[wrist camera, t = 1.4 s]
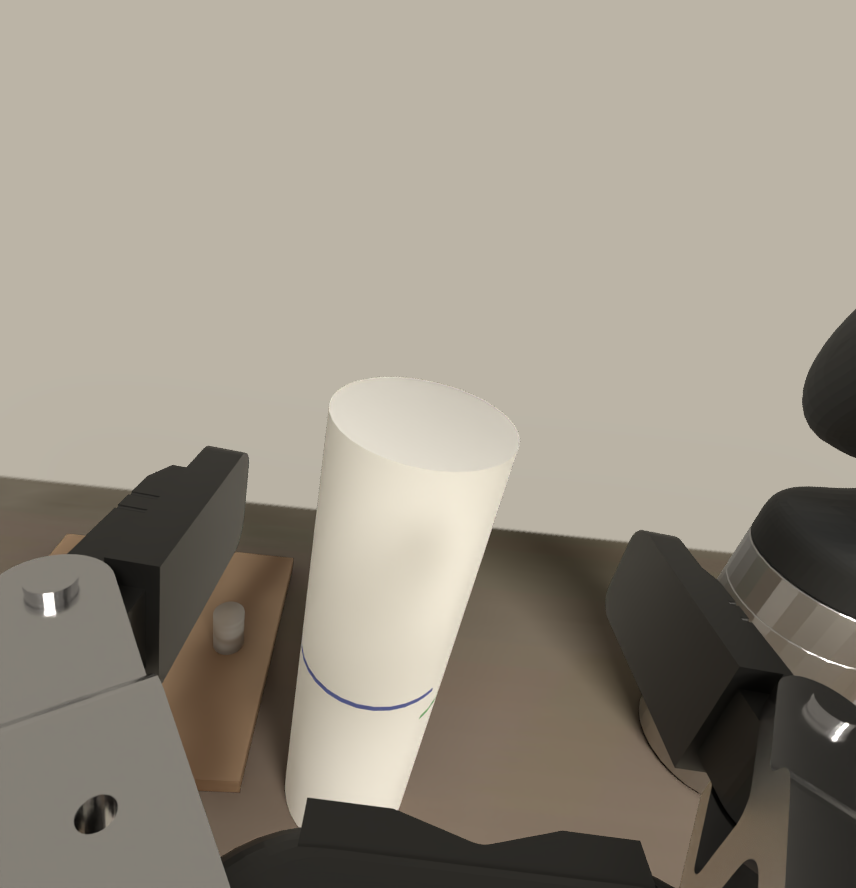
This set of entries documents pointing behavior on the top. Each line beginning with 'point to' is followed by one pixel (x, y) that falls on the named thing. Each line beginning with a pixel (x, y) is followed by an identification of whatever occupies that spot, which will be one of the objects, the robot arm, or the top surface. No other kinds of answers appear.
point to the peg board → (224, 666)
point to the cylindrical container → (389, 579)
